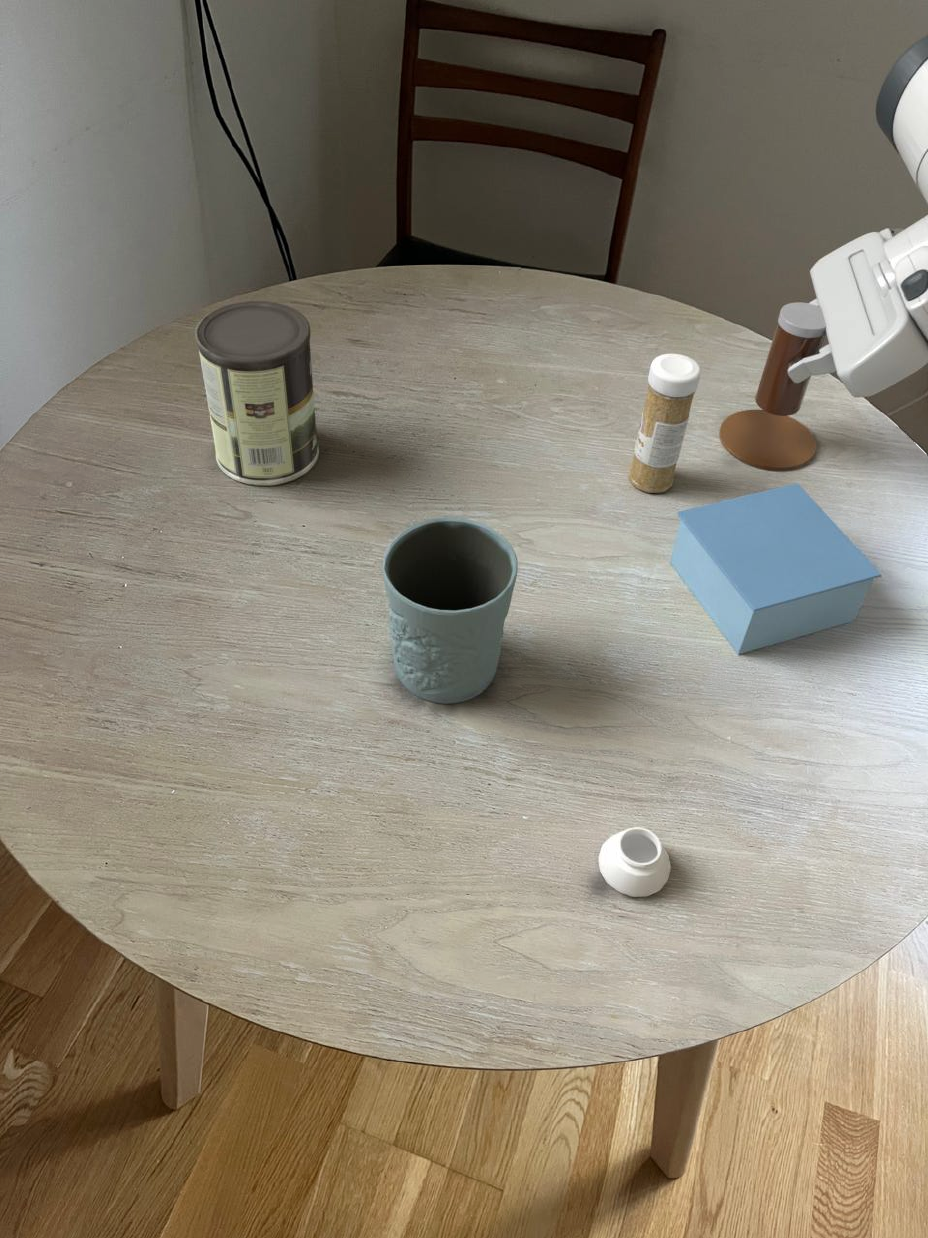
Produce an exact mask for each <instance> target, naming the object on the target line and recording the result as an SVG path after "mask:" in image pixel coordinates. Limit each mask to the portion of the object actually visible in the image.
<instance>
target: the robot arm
mask: <svg viewBox="0 0 928 1238" xmlns="http://www.w3.org/2000/svg"><path fill="white" fill-rule="evenodd" d="M875 118H876V122H877V125H878V127H879V128H880V130H881V131H882V133H883V134H884V136H885V137H886V139H887V140H888V141H889V143H890V144H891V146H892V147H893V148H894V150H895V151H896V153H897V154H898V155H899V156H900V157H901V159H902V161H903V163H904V165H905V166H906V169H907V171H908V172H909V175H910V176H911V178H912V180H913V182H914V184H915V186H916V188H917V190H918V191H919V192H920V194H921V195H922V196H923V198H924V200H925V202H926V204H927V205H928V33H926V35H923V36H922V37H921V38H919V39H918V40H917V41H915V42H913V43H912V44H911V45H909V46H908V47H907V49H905V50H904V51H903V52H902V53H901V54H900V56H898V58H897V59H896V60H895V62H894V63H893V64H892V65H891V68H890V69H889V71H888V73H887V75H886V76H885V78H884V81H883V83H882V84H881V88H880V90H879V93H878V96H877V98H876V104H875ZM809 275H810V278H811V281H812V286H813V289H814V293H815V296H816V298H814V299H813V300H812V301H810V302H808V303H809V304H813V305H816V306H818V307H820V308H822V312H823V315H824V319H825V323H826V328H825V330H826V338H827V342H828V343H827V344H826V345H824V346H822V347H821V349H820V350H819V354H816V355H813V356H810V357H806V358H804V357H803V356H802V355H800V356H798V357H796V358H795V359H794V360H791V361H789V362H788V363H787V371H788V375H789V377H790V378H791V379H792V381H793V382H794V383H800V382H802V381H803V380H805V379H807V378H809V377H810V376H811V377H812V376H821V375H829V374H833V373H835V372H836V375H837V377H838V378H839V380H840V382H841V383H842V384H843V386H844V387H845V389H846V390H847V391H848V392H849V394H850V395H851V396H852V397H853V398H868V397H872V396H874V395H877V394H878V393H880V392H882V391H884V390H886V389H888V388H890V387H892V386H894V385H895V384H897V383H899V382H901V381H903V380H905V379H906V378H908V377H910V376H911V375H913V374H915V373H916V372H918V371H919V370H921V369H922V368H923V367H924V366H926V365H927V364H928V214H926V215H924V217H922V218H920V219H918V220H917V221H916V222H914V223H913V224H911V225H910V226H908V227H906V228H905V229H903V228H901V227H898V228H888V227H887V228H884V229H882V230H880V231H879V232H878V231H871V232H868V233H866V234H863V235H861V236H859V237H856V238H855V239H853V240H851V241H849V242H847V243H845V244H844V245H842V246H840V247H838V248H836V249H834V250H832V251H831V252H829V253H828V254H826V255H824V256H823V257H821V258H820V259H818V260H817V261H816V263H814V265H813V266H812V267H811V269H810V270H809Z"/></svg>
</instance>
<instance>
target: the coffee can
mask: <svg viewBox="0 0 928 1238" xmlns="http://www.w3.org/2000/svg"><path fill="white" fill-rule="evenodd" d="M194 339H195V340H194V341H195V343H196V346H197V348H198V354H199V358H200V364H201V372H202V377H203V383H204V388H205V395H206V401H207V408H208V413H209V419H210V424H211V431H212V437H213V443H214V449H215V460H216V463H217V466H218V467H219V469H220V470H221V471H222V473H224V474H225V475H226V476H228V477H229V478H231V479H232V480H234V481H236V482H239V483H242V484H245V485H250V486H259V487H260V486H261V487H262V486H263V487H264V486H265V487H267V486H276V485H277V486H278V485H282V484H286V483H289V482H292V481H295V480H297V479H298V478H301V477H302V476H304V475H306V473H308V472H309V471H310V470H311V469H312V468H313V467H314V466H315V464H316V463H317V461H318V459H319V454H320V448H319V444H318V432H317V421H316V420H317V419H316V410H315V409H316V408H315V397H314V396H315V395H314V383H313V368H312V367H313V365H312V356H311V355H312V354H311V353H312V352H311V325H310V322H309V321H308V319H307V318H306V317H305V315H304V314H303V313H301V312H299V310H297V309H295V308H293V307H291V306H289V305H286V304H283V303H279V302H275V301H267V300H248V301H240V302H239V301H238V302H234V303H229V304H226V305H222V306H221V307H218V308H215V309H213V310H212V311H210V312H209V313H207V314H206V315H204V316H203V317H202V318H201V319H200V320H199V322H198V323H197V325H196V327H195V329H194Z"/></svg>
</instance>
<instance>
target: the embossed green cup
mask: <svg viewBox="0 0 928 1238" xmlns="http://www.w3.org/2000/svg"><path fill="white" fill-rule="evenodd" d="M518 571H519V565H518V557H517V554H516V551H515V549H514V548H513V545H512V544H511V543H510V542H509V541H508V540H507V538H505V537H504V536H503V534H501V533H500V532H498V531H496V530H495V529H494V528H492V527H490V526H488V525H486V524H484V523H481V522H479V521H476V520H471V519H467V518H461V517H447V516H446V517H445V516H444V517H436V518H430V519H426V520H422V521H420V522H416V523H415V524H412V525H410V526H408V527H407V528H405V529H404V530H402V531H401V532H400V533H399V534H397V535H396V536H395V537H394V538H393V539H392V540H391V541H390V543H389V544H388V545H387V547H386V549H385V551H384V554H383V559H382V574H383V582H384V588H385V594H386V597H387V606H388V607H389V608H390V609H389V612H388V624H389V633H390V637H391V650H392V661H393V668H394V672H395V674H396V676H397V678H398V680H399V681H400V683H401V685H402V686H403V687H404V688H405V689H406V690H407V691H408V692H410V693H411V694H412V695H414V696H416V697H418V698H420V699H421V700H425V701H428V702H430V703H436V704H442V705H443V704H444V705H446V704H458V703H464V702H467V701H469V700H471V699H474V698H476V697H477V696H479V695H481V694H482V693H483V692H484V691H485V690H486V689H487V688H488V687H489V686H490V684H491V683H492V682H493V680H494V677H495V675H496V672H497V667H498V663H499V658H500V654H501V651H502V643H501V641H502V639H503V637H504V626H505V621H506V618H507V616H508V613H509V611H510V607H511V604H512V603H511V601H512V598H513V593H514V588H515V584H516V580H517V578H518Z"/></svg>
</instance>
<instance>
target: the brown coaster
mask: <svg viewBox="0 0 928 1238" xmlns="http://www.w3.org/2000/svg"><path fill="white" fill-rule="evenodd" d="M718 433H719V434H718V436H719V440H720V443H721V444H722V447H723V448H724V449H725V450H726V452H727V453H729V454H730V455H731V456H732V457H734V458H735V459H736V460H739V462H741V463H744V464H747V465H749V466H751V467H754V468H756V469H757V468H758V469H762V470H767V471H777V472H779V471H780V472H782V471H790V470H791V471H792V470H795V469H799V468H801V467H803V466H806V465H807V464H808V463H809V462H810V461H811V460H812V459H813V458H814V455H815V453H816V450H817V443H816V439H815V437H814V435H813V434H812V432H811V431H810V430H809V428H807V426H805V425H804V424H803V423H801V422H800V421H798V420H797V419H795V418H793V417H791V416H790V415H789V416H779V415H774V414H770V413H768V412H766V411H764V410H762V409H746V410H741V411H737V412H734V413H732V414H730V415H728V416H727V417H726V418H725V419H724V420H723V421H722V423H721V425H720V428H719V432H718Z"/></svg>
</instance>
